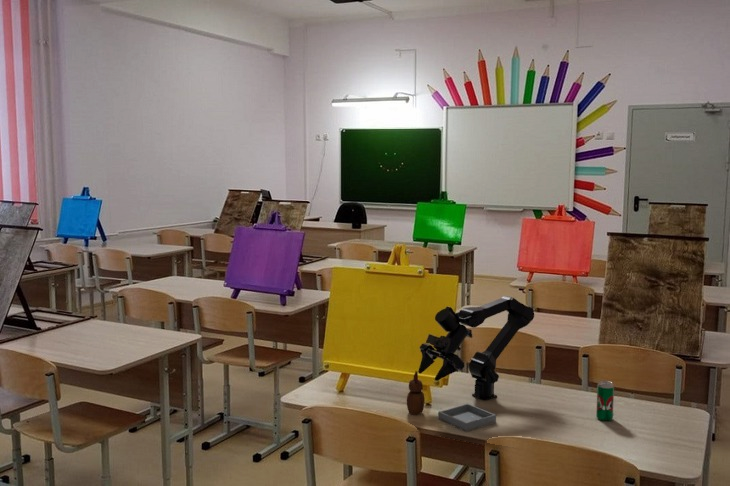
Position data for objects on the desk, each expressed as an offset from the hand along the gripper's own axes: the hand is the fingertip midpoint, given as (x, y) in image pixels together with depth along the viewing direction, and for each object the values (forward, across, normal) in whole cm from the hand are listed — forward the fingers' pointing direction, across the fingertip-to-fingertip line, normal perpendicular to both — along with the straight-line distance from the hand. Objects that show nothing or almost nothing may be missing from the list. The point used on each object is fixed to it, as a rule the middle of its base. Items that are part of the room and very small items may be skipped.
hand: (427, 376), depth 225 cm
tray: (+4, +14, +12) cm, 19 cm away
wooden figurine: (+12, 0, +5) cm, 13 cm away
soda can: (-23, +37, +39) cm, 58 cm away
